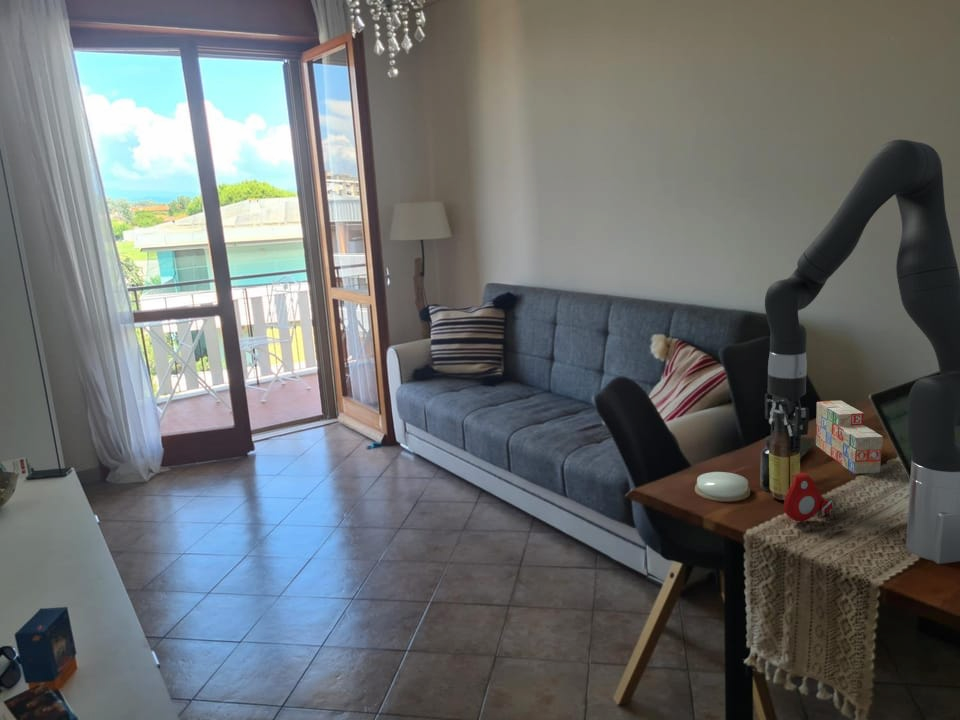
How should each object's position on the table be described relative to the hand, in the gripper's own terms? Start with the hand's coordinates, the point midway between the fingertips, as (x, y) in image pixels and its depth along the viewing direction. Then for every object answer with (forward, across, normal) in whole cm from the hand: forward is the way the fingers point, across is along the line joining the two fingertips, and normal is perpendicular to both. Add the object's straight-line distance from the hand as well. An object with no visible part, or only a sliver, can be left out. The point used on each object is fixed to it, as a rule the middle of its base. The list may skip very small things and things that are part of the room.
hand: (784, 445), depth 155 cm
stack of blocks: (+13, +18, -26) cm, 34 cm away
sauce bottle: (+12, -1, 0) cm, 12 cm away
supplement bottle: (+12, +5, -1) cm, 13 cm away
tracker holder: (+12, -12, +1) cm, 17 cm away
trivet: (+12, +6, +11) cm, 18 cm away
